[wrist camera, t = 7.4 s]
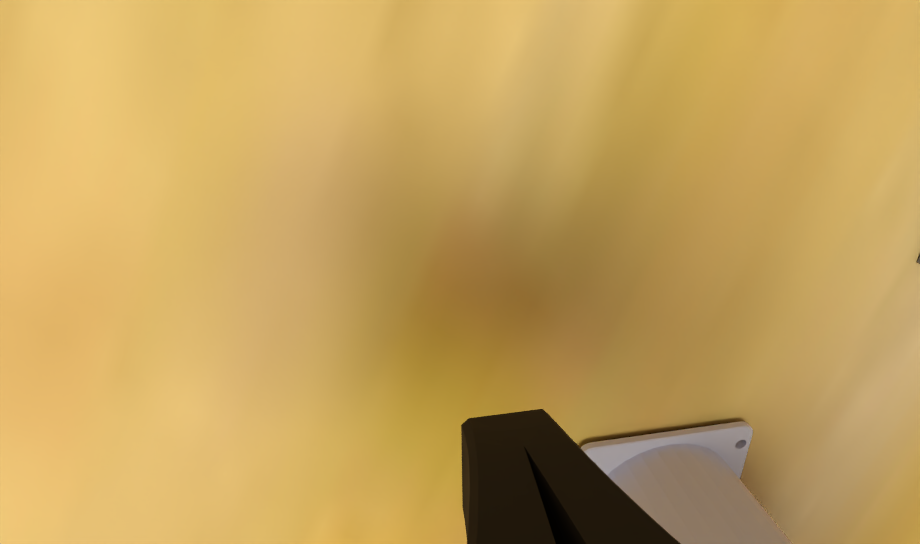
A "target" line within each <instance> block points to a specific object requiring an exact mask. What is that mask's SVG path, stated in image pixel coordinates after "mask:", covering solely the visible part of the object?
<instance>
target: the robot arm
mask: <svg viewBox="0 0 920 544" xmlns="http://www.w3.org/2000/svg"><path fill="white" fill-rule="evenodd" d="M461 429H462V492H463V512H464V518H465V525H466V534H467V544H792V543H791V541H790V540H789V539H788V538H787V536H786V535H785V534H784V533H783V532H782V530H781V529H780V528H779V527H778V525H777V524H776V523H775V522H774V521H773V519H772V518H771V517H770V516H769V514H768V513H767V512H766V511H765V510H764V508H763V507H762V506H761V505H760V503H759V502H758V501H757V500H756V499H755V497H754V496H753V495H752V494H751V492H750V491H749V490H748V489H747V488H746V486H745V485H744V484H743V483H742V481H741V480H740V477H741V474H742V470H743V467H744V463H745V460H746V456H747V452H748V449H749V445H750V442H751V438H752V435H753V429H752V427H751V426H750V425H749V424H748V423H746V422H744V421H740V422H733V423H725V424H718V425H711V426H704V427H697V428H690V429H683V430H676V431H669V432H661V433H654V434H647V435H640V436H633V437H626V438H619V439H612V440H605V441H598V442H590V443H587V444H584V445H583V446H582V447H581V448H580V447H579V446H578V445H577V444H576V443H575V442H574V441H573V440H572V439H571V438H570V437H569V436H568V435H567V434H566V433H565V431H564V430H563V429H562V428H561V427H560V426H559V425H558V424H557V423H556V422H555V421H554V420H553V419H552V418H551V417H550V416H549V414H547V413H546V412H545V411H544V410H543V409H538V410H531V411H523V412H515V413H507V414H500V415H492V416H484V417H477V418H469V419H467V420H466V421H465V422H464V423H463V424H462V425H461Z"/></svg>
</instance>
